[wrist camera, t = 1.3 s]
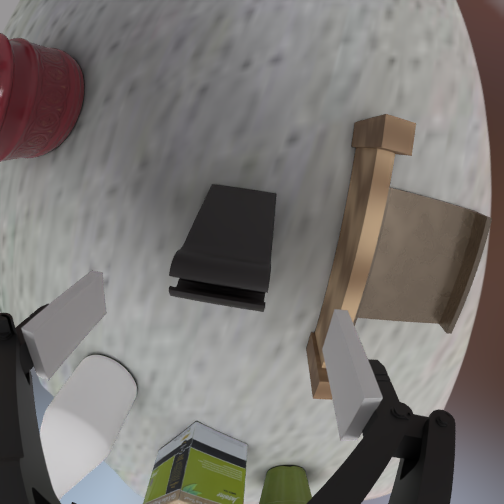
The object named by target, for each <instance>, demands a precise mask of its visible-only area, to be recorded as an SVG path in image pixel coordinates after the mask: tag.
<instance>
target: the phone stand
mask: <svg viewBox="0 0 504 504" xmlns="http://www.w3.org/2000/svg"><path fill="white" fill-rule="evenodd" d="M275 204H276V194H274V193H268V192H261V191H255V190H248V189H241V188H235V187H227V186H220V185H213V184H212V186H211V188H210V190H209V192H208V194H207V196H206V198H205V200H204V202H203V204H202V206H201V208H200V211H199V213H198V215H197V217H196V219H195V221H194V223H193V225H192V228H191V230H190V232H189V234H188V236H187V238H186V241H185V243H184V245H183V246H182V248H181V249H180V250H178V251H177V252H176V254H175V255H174V258H173V260H172V264H171V268H170V273H169V276H173V277H178V278H180V279H179V281H178V284H177V287H172V286H170V287H169V293H170V295H171V296H175V297H180V298H185V299H190V300H196V301H201V302H207V303H212V304H218V305H224V306H230V307H236V308H242V309H248V310H255V311H261V312H263V311H264V308H265V302H264V297H265V292H267V293H268V288H269V281H270V272H271V250H272V239H273V227H274V216H275Z"/></svg>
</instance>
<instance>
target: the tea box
mask: <svg viewBox="0 0 504 504" xmlns="http://www.w3.org/2000/svg"><path fill="white" fill-rule="evenodd" d="M247 447H248V446H247V444H246V443H243V442H241V441H239V440H236V439H234V438H232V437H230V436H227V435H225V434H223V433H221V432H218V431H216V430H214V429H212V428H210V427H208V426H205V425H203V424H201V423H199V422H195V423H194V424H192V425H191V426H190V427H189V428H187V429H186V430H185V431H184V432H182V433H181V434H180V435H179V436H177V437H176V438H175V439H173V440H172V441H171V442H170V443H168V444H167V445H166V446H164V447H163V448H162V449H160V450H159V451H158V455H157V458H156V461H155V465H154V468H153V471H152V475H151V478H150V481H149V485H148V488H147V492H146V496H145V499H144V503H143V504H244V491H245V476H246V462H247Z"/></svg>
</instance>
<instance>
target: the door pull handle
mask: <svg viewBox="0 0 504 504" xmlns="http://www.w3.org/2000/svg"><path fill="white" fill-rule="evenodd" d="M415 127H416V123H413V122H410V121H407V120H404V119H401V118H398V117H394V116H391V115H388V114H384V115H380V116H376V117H372V118H369V119H365V120H361V121H358V122H355V124H354V132H353V139H352V145H351V147H354V148H356V150H355V156H354V162H353V168H352V174H351V180H350V185H349V191H348V196H347V202H346V207H345V212H344V217H343V221H342V226H341V231H340V236H339V240H338V245H337V249H336V253H335V258H334V262H333V266H332V270H331V274H330V278H329V282H328V286H327V290H326V294H325V298H324V302H323V305H322V309H321V313H320V316H319V320H318V324H317V327H316V331H315V333H313V332H311V334H310V338H309V341H308V345H307V348H306V350H307V357H308V365H309V372H310V379H311V387H312V395H313V399H332V394H331V389H330V384H329V379H328V374H327V369H326V365H325V360H324V355H323V351H322V348H323V345H324V342H325V339H326V336H327V333H328V329H329V326H330V323H331V319H332V316H333V312H334V309H339V310H348V312H349V315H350V317H351V319H352V322H354V319H355V316H356V313H357V310H358V307H359V304H360V301H361V297H362V294H363V291H364V288H365V284H366V281H367V277H368V274H369V270H370V267H371V263H372V259H373V256H374V252H375V248H376V244H377V240H378V236H379V232H380V228H381V224H382V219H383V215H384V210H385V206H386V201H387V196H388V191H389V186H390V180H391V175H392V169H393V163H394V157H395V154H399V155H409V156H412V149H413V142H414V135H415Z"/></svg>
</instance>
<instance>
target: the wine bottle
mask: <svg viewBox="0 0 504 504" xmlns="http://www.w3.org/2000/svg"><path fill="white" fill-rule="evenodd" d="M136 395H137V386H136V383H135V381H134V379H133V377H132V376H131V374H130V373H129V372H128V371H127V370H126V369H125V368H124V367H123V366H122V365H121V364H119V363H118V362H116V361H114V360H113V359H111V358H108V357H105V356H102V355H91V356H88V357H86V358H85V359H83V360H82V361H81V362H80V364H79V365H78V366H77V368H76V369H75V370H74V372H73V373H72V374H71V376H70V377H69V378H68V380H67V381H66V383H65V384H64V385H63V387H62V388H61V389H60V391H59V392H58V393H57V395H56V396H55V398H54V399H53V400H52V402H51V403H50V405H49V406H48V408H47V409H46V411H45V414H44V417H43V421H42V425H41V430H40V439H41V444H42V449H43V453H44V457H45V461H46V465H47V469H48V473H49V477H50V480H51V484H52V487H53V490H54V492H55V494H56V496H57V498H58V499H59V500H60V499H61V498H62V497H63V495H64V494H66V493H67V492H68V491H69V490H70V489H71V488H72V487H74V486H75V485H76V484H77V483H78V482H79V481H80V480H82V479H83V478H84V477H85V476H86V475H87V474H88V473H90V472H91V471H92V470H93V469H94V468H96V466H98V465H99V464H100V463H101V462H102V461H103V460H104V459H105V458H106V457H107V456H108V455H109V454H110V452H111V449H112V447H113V445H114V443H115V441H116V439H117V436H118V434H119V432H120V430H121V428H122V426H123V424H124V421H125V419H126V417H127V415H128V413H129V411H130V409H131V407H132V405H133V403H134V401H135V398H136Z"/></svg>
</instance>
